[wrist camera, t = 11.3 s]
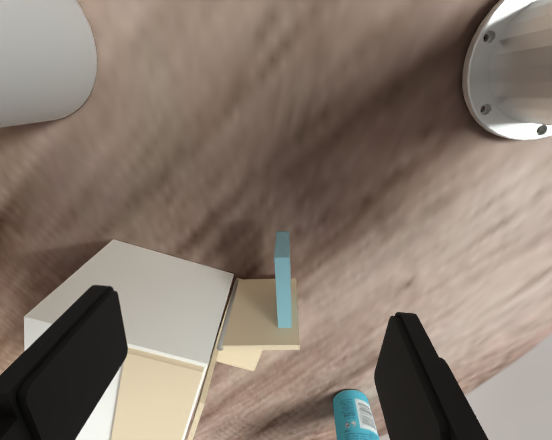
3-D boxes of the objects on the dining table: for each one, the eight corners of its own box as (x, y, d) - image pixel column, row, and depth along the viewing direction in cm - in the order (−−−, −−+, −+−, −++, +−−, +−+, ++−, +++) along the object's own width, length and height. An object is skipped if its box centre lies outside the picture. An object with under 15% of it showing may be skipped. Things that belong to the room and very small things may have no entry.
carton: (286, 289, 36) (285, 389, 24) (253, 369, 41) (239, 485, 29) (113, 239, 34) (18, 321, 22) (102, 330, 39) (21, 436, 27)
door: (227, 221, 31) (204, 272, 23) (294, 219, 31) (297, 271, 22) (235, 283, 34) (217, 350, 26) (296, 282, 34) (299, 350, 25)
